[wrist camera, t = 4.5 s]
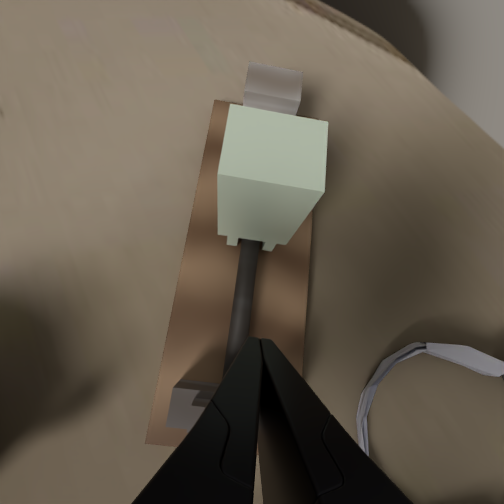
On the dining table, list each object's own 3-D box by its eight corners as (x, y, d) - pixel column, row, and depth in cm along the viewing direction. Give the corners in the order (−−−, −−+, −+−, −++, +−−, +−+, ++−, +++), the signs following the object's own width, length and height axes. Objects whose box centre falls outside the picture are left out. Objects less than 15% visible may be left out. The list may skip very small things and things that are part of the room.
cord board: (293, 452, 20) (326, 504, 14) (148, 438, 19) (115, 485, 13) (315, 125, 28) (342, 66, 22) (214, 106, 28) (214, 40, 22)
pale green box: (280, 252, 23) (324, 192, 13) (217, 243, 22) (217, 173, 13) (284, 207, 24) (328, 121, 14) (225, 197, 24) (230, 103, 14)
